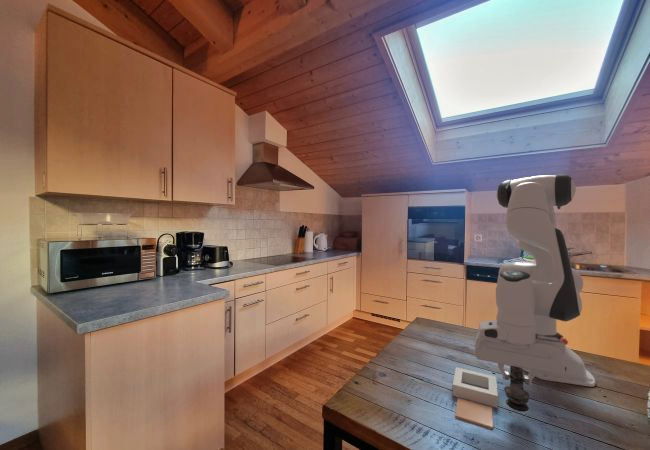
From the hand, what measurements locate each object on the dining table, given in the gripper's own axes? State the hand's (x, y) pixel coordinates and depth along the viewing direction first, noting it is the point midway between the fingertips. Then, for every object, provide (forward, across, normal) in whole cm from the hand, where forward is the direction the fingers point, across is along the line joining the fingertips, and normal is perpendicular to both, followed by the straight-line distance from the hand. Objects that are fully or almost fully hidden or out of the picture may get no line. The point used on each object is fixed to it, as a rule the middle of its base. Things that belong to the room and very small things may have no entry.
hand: (516, 381), depth 75 cm
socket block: (+11, +10, -9) cm, 18 cm away
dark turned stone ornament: (+7, 0, 0) cm, 7 cm away
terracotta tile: (+10, +10, +3) cm, 15 cm away
